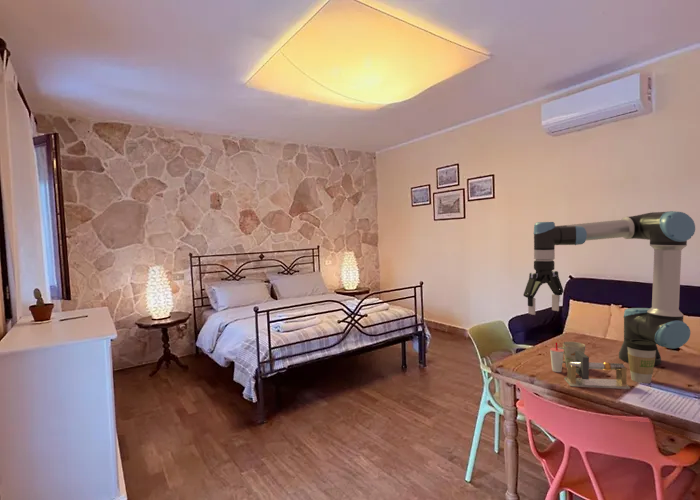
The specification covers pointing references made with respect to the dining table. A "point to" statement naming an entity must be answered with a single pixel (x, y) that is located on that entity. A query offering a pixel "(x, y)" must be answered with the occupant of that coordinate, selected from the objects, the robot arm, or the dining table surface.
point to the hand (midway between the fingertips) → (543, 312)
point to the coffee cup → (641, 359)
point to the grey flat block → (582, 364)
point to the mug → (571, 350)
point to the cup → (556, 358)
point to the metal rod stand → (598, 383)
